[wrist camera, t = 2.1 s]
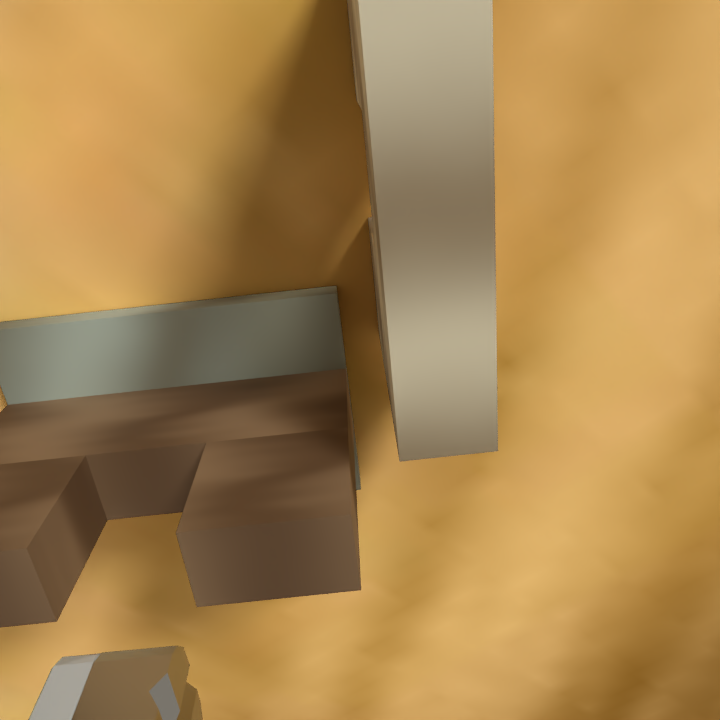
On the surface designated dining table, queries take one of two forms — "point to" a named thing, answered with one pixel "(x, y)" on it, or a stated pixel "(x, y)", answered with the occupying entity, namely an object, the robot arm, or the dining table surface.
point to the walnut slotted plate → (180, 446)
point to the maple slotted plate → (432, 215)
